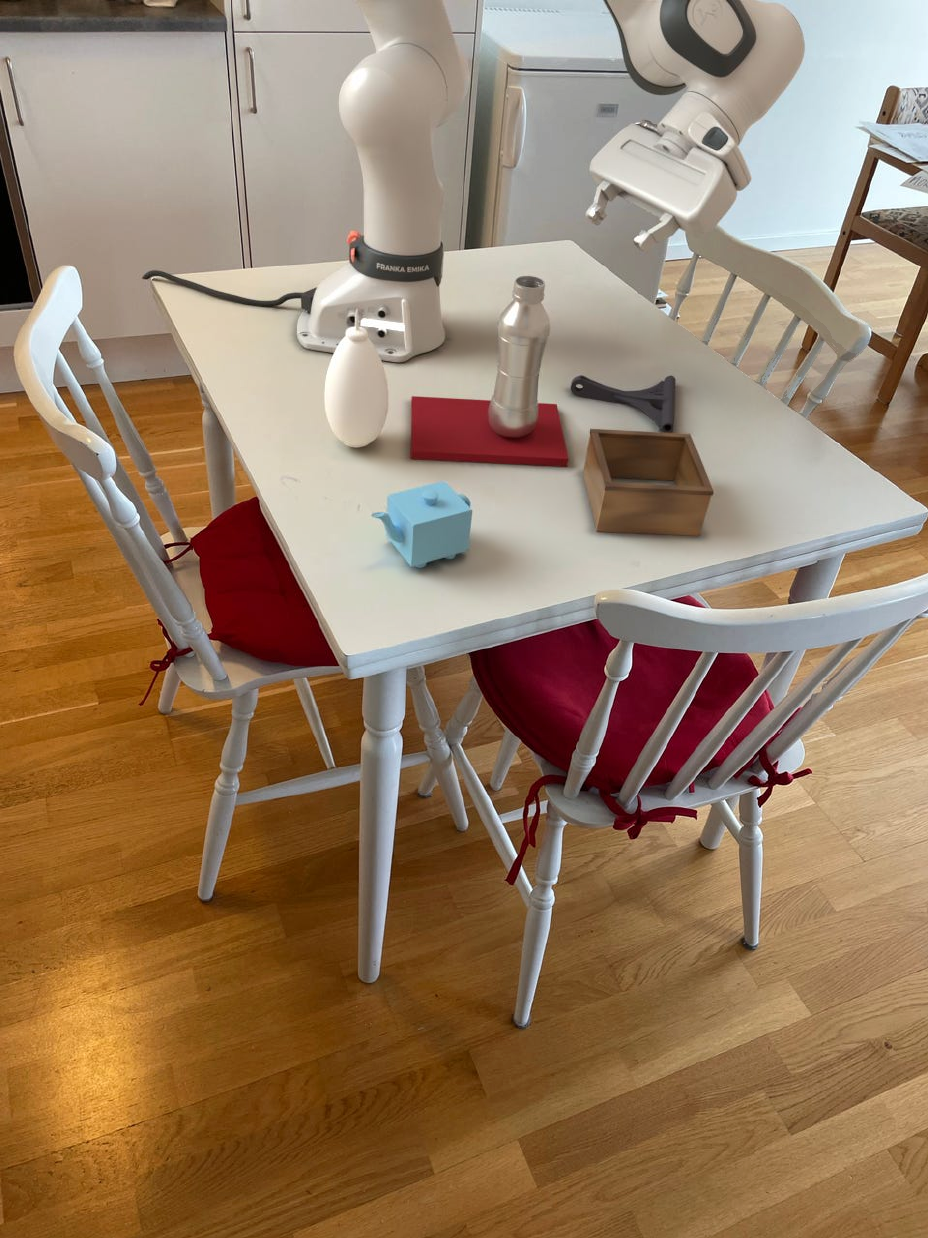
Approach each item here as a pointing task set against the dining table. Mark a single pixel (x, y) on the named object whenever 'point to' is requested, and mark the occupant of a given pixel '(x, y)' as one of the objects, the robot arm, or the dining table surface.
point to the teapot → (427, 523)
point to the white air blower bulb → (356, 389)
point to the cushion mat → (481, 434)
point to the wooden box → (646, 503)
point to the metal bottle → (519, 359)
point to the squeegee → (635, 398)
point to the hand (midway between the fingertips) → (614, 233)
